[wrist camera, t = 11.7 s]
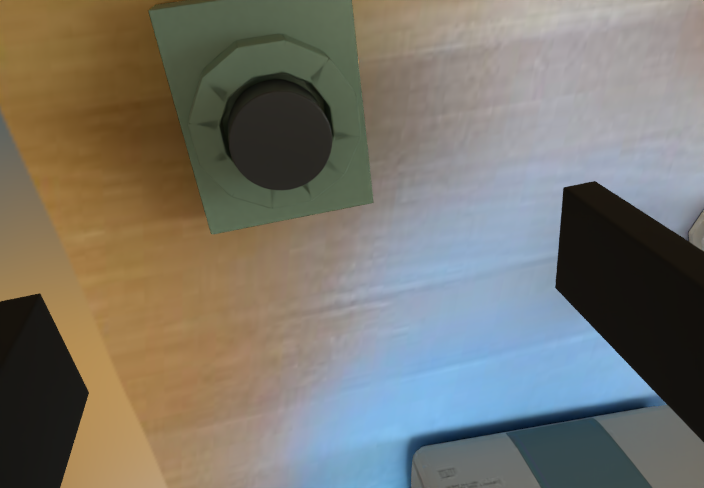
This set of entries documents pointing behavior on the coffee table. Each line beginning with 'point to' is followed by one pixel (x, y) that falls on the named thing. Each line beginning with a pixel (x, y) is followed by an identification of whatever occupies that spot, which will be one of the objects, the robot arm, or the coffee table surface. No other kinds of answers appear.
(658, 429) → the white and blue toaster
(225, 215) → the button box
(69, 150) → the coffee table surface
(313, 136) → the button
